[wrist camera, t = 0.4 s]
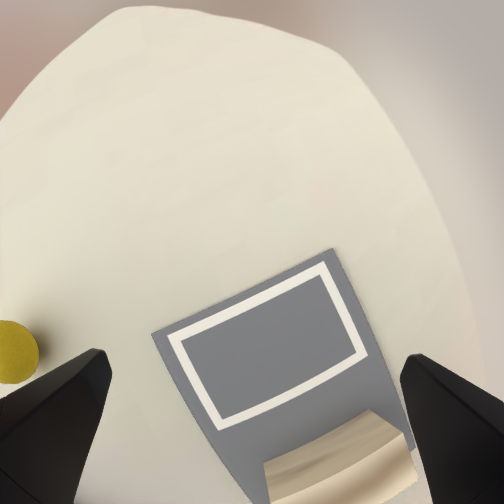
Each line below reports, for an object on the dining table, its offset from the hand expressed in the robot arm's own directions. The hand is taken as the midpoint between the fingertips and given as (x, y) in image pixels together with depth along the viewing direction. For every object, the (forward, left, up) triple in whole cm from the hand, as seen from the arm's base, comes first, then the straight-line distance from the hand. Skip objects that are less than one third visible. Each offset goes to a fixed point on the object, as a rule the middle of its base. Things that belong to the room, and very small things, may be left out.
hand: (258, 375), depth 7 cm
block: (-14, -1, -14) cm, 20 cm away
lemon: (+6, +20, -15) cm, 25 cm away
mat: (-8, -1, -14) cm, 17 cm away
